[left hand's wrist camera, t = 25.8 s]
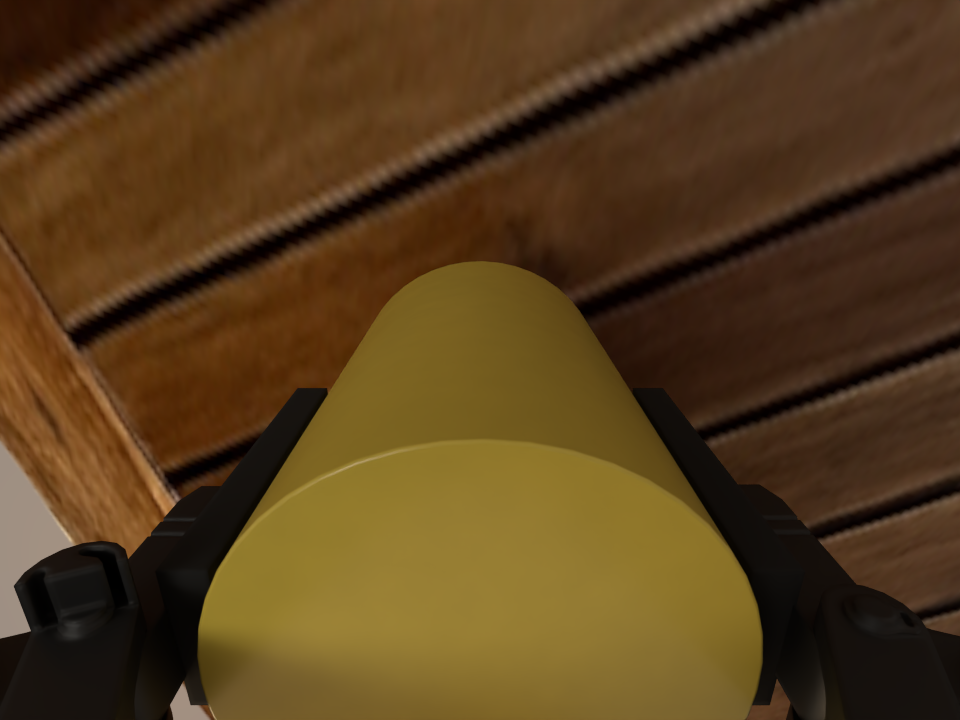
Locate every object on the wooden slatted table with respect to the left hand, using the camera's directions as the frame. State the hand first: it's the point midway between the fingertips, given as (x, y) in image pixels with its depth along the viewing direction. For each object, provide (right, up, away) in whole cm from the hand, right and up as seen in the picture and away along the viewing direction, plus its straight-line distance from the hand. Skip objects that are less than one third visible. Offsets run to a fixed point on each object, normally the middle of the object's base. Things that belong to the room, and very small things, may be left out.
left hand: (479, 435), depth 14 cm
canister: (0, +1, +4) cm, 4 cm away
